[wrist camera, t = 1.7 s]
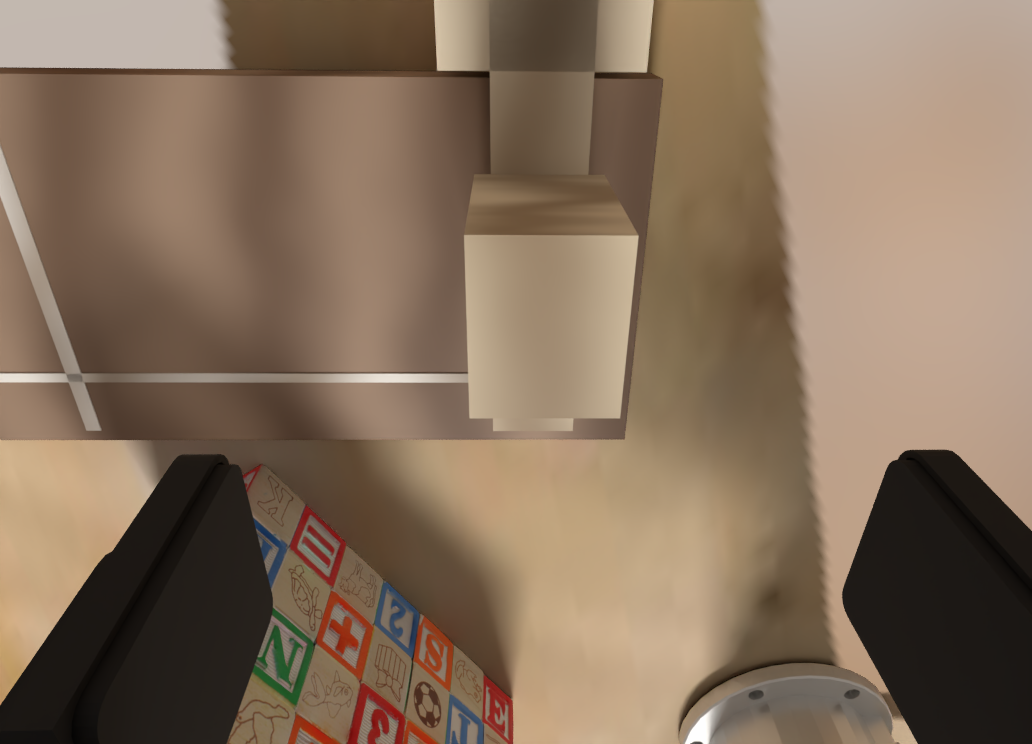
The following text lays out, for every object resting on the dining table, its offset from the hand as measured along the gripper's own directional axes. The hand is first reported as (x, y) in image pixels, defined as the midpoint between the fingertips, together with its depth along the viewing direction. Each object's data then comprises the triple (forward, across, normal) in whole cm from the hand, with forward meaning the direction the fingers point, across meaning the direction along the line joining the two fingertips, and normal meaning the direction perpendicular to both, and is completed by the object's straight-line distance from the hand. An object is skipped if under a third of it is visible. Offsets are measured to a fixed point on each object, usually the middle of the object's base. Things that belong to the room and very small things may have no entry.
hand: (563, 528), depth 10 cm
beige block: (+17, 0, 0) cm, 17 cm away
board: (+18, +9, +3) cm, 20 cm away
